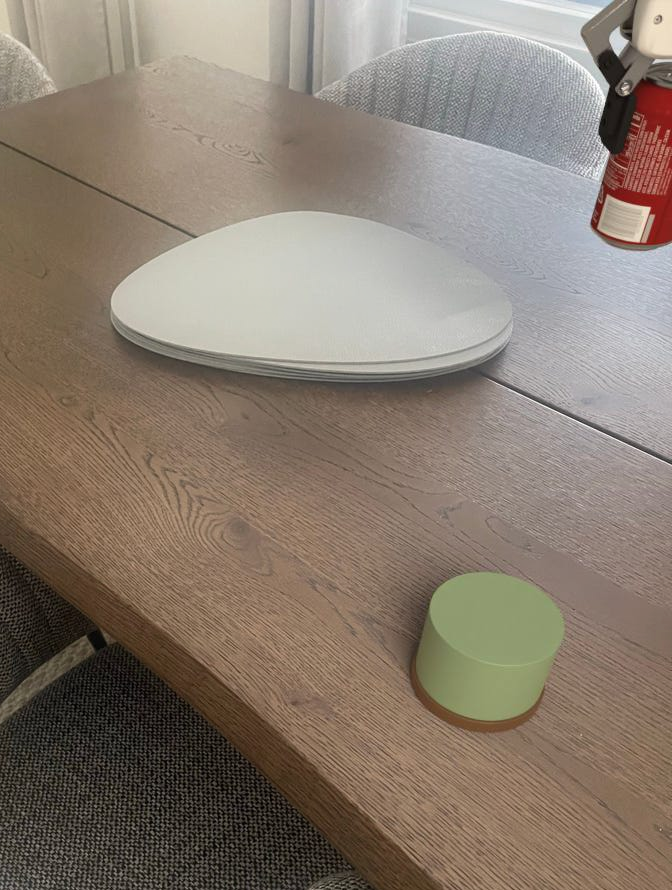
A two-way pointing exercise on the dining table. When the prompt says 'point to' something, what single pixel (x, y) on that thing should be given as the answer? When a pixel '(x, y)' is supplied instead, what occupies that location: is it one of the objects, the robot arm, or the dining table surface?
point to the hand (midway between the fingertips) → (660, 144)
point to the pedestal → (486, 651)
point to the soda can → (641, 172)
